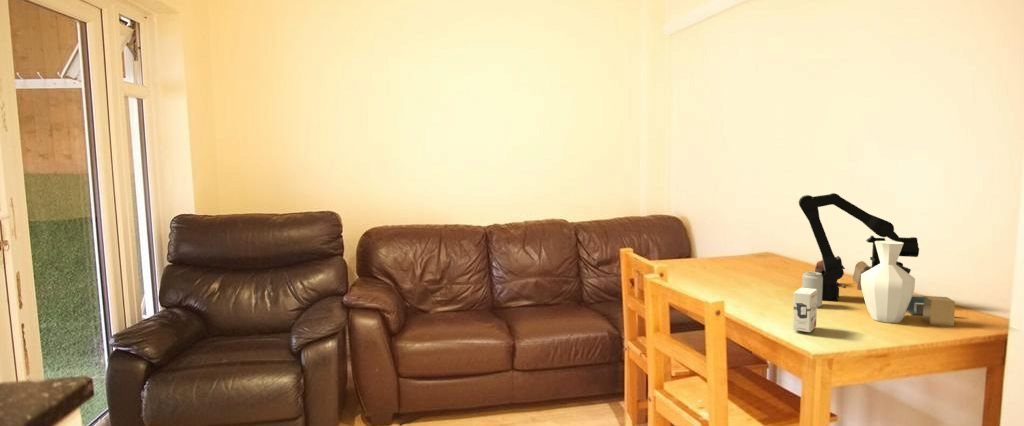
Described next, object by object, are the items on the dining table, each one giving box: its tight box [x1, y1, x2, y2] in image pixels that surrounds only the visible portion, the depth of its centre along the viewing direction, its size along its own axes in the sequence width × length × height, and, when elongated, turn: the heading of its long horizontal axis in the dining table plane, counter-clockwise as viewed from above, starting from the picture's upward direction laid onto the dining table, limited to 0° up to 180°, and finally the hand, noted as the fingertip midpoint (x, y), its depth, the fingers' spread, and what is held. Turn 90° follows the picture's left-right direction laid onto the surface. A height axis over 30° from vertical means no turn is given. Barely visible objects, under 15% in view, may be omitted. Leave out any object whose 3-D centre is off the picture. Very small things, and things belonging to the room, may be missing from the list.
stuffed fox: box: [814, 260, 847, 288], centre depth 222 cm, size 8×11×12 cm
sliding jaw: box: [908, 294, 925, 306], centre depth 191 cm, size 18×2×3 cm, turn 71°
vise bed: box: [906, 306, 923, 317], centre depth 187 cm, size 11×16×1 cm
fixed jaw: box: [914, 303, 924, 314], centre depth 180 cm, size 10×2×3 cm, turn 71°
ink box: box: [792, 287, 818, 333], centre depth 167 cm, size 8×5×12 cm, turn 140°
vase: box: [861, 240, 916, 324], centre depth 176 cm, size 14×14×25 cm
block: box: [922, 295, 956, 328], centre depth 171 cm, size 6×6×8 cm
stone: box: [852, 260, 869, 291], centre depth 222 cm, size 19×10×4 cm
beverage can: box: [801, 271, 823, 309], centre depth 194 cm, size 6×6×12 cm
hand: (879, 298), depth 196 cm, fingers closed
